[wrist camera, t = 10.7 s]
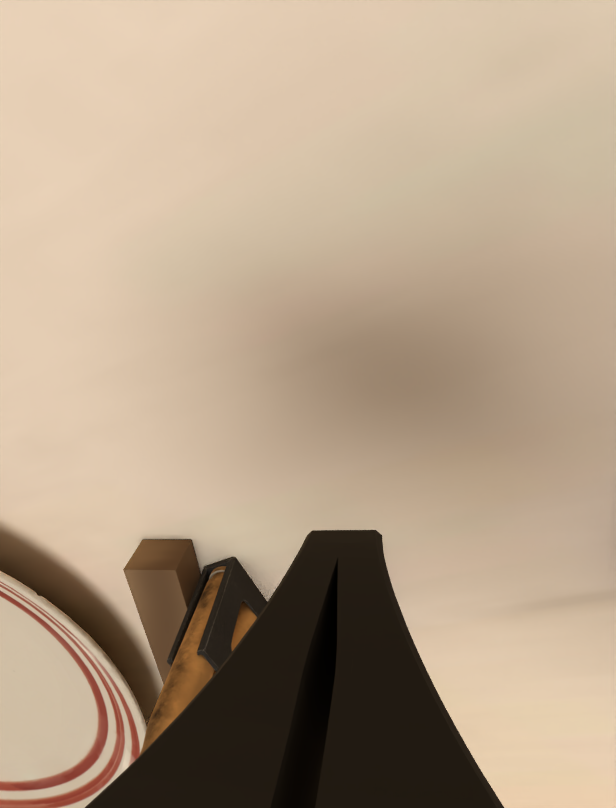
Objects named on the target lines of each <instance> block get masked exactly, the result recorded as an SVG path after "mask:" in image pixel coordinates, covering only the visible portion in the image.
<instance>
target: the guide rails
mask: <svg viewBox="0 0 616 808" xmlns="http://www.w3.org/2000/svg"><path fill="white" fill-rule="evenodd" d="M123 570H124V573H125V576H126V579H127V581H128V584H129V587H130V590H131V593H132V596H133V598H134V601H135V604H136V607H137V610H138V613H139V616H140V618H141V621H142V624H143V627H144V630H145V633H146V635H147V638H148V641H149V644H150V647H151V650H152V653H153V655H154V658H155V661H156V664H157V667H158V670H159V672H160V675H161V678H162V681H163V684H165V681H166V679H167V676H168V674H169V672H170V669H171V666H170V665H169V664H168V663H167V659H168V656H169V654H170V651H171V649H172V646H173V644H174V641H175V639H176V636H177V634H178V631H179V629H180V626H181V624H182V621H183V619H184V616H185V614H186V611H187V609H188V606H189V604H190V601H191V599H192V596H193V594H194V591H195V589H196V586H197V584H198V581H199V579H200V576H201V574H200V570H199V567H198V563H197V559H196V555H195V552H194V548H193V544H192V541H191V540H142V542H141V543H140V545H139V546H138V548H137V549H136V551H135V552H134V554H133V555H132V557H131V559H130V560H129V562H128V563H127V565H126V566H125V568H124V569H123Z"/></svg>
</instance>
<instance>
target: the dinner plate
mask: <svg viewBox="0 0 616 808" xmlns="http://www.w3.org/2000/svg"><path fill="white" fill-rule="evenodd" d="M146 729H147V726H146V723H145V719H144V717H143V714H142V712H141V709H140V707H139V704H138V702H137V700H136V698H135V696H134V694H133V692H132V691H131V689H130V687H129V685H128V683H127V682H126V680H125V679H124V677H123V676H122V674H121V673H120V671H119V670H118V669H117V668H116V666H115V665H114V663H113V662H112V661H111V659H110V658H109V657H108V655H107V654H106V653H105V652H104V651H103V650H102V648H101V647H100V646H99V645H98V644H97V643H96V642H95V641H94V640H93V639H92V638H91V637H90V636H89V635H88V634H87V633H86V632H85V631H84V630H83V629H82V628H81V627H80V626H78V625H77V624H76V623H75V622H74V621H73V620H72V619H71V618H70V617H69V616H67V615H66V614H65V613H64V612H62V611H61V610H60V609H58V608H57V607H56V606H54V605H53V604H52V603H51V602H49V601H48V600H47V599H45V598H44V597H42V596H38V595H37V593H36V592H35V591H33V590H32V589H30V588H29V587H27V586H26V585H24V584H22V583H21V582H19V581H17V580H16V579H14V578H12V577H11V576H9V575H7V574H5V573H3V572H2V571H0V808H85V807H86V806H87V805H88V804H89V803H90V802H91V801H92V800H93V799H94V798H96V797H97V796H98V795H99V794H100V793H101V792H102V791H103V790H104V789H105V788H106V787H107V786H109V785H110V784H111V783H112V782H113V781H114V780H115V779H116V778H117V777H118V776H119V775H121V774H122V773H123V772H124V771H125V770H126V769H127V768H128V767H129V766H130V765H131V764H132V763H133V762H134V761H135V760H136V759H137V758H138V757H139V755H140V752H141V750H142V747H143V743H144V738H145V734H146Z"/></svg>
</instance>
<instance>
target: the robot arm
mask: <svg viewBox="0 0 616 808" xmlns="http://www.w3.org/2000/svg"><path fill="white" fill-rule="evenodd" d="M85 808H504V807H503V805H502V804H501V802H500V800H499V799H498V797H497V796H496V794H495V792H494V791H493V789H492V788H491V786H490V784H489V783H488V781H487V780H486V778H485V777H484V775H483V773H482V772H481V770H480V768H479V767H478V765H477V763H476V762H475V760H474V758H473V756H472V755H471V753H470V751H469V749H468V748H467V746H466V744H465V742H464V741H463V739H462V737H461V736H460V734H459V732H458V730H457V729H456V727H455V725H454V723H453V721H452V719H451V717H450V715H449V714H448V712H447V710H446V708H445V706H444V704H443V702H442V701H441V699H440V697H439V695H438V693H437V691H436V689H435V687H434V685H433V683H432V681H431V679H430V677H429V675H428V673H427V671H426V668H425V666H424V664H423V662H422V660H421V657H420V655H419V653H418V651H417V649H416V647H415V644H414V642H413V640H412V637H411V635H410V633H409V630H408V628H407V625H406V623H405V620H404V618H403V615H402V612H401V610H400V607H399V604H398V602H397V599H396V597H395V594H394V591H393V588H392V585H391V581H390V578H389V574H388V571H387V567H386V563H385V559H384V554H383V544H382V535H381V534H380V533H379V532H377V531H376V530H323V531H312V532H310V533H309V534H308V535H307V537H306V539H305V541H304V543H303V545H302V547H301V548H300V550H299V552H298V554H297V556H296V557H295V559H294V561H293V563H292V564H291V566H290V568H289V569H288V571H287V573H286V574H285V576H284V578H283V579H282V581H281V582H280V584H279V586H278V587H277V589H276V590H275V592H274V593H273V595H272V596H271V598H270V599H269V601H268V602H267V604H266V605H265V607H264V608H263V610H262V611H261V613H260V614H259V616H258V617H257V619H256V620H255V621H254V623H253V624H252V626H251V627H250V628H249V630H248V631H247V632H246V634H245V635H244V636H243V638H242V639H241V640H240V642H239V643H238V644H237V646H236V647H235V648H234V650H233V651H232V652H231V654H230V655H229V656H228V658H227V659H226V660H225V662H224V663H223V664H222V665H221V667H220V668H219V669H218V670H217V671H216V673H215V674H214V675H213V676H212V678H211V679H210V680H209V681H208V682H207V684H206V685H205V686H204V687H203V688H202V689H201V691H200V692H199V693H198V694H197V695H196V696H195V697H194V699H193V700H192V701H191V702H190V703H189V704H188V705H187V707H186V708H185V709H184V710H183V711H182V712H181V713H180V714H179V715H178V716H177V717H176V718H175V720H174V721H173V722H172V723H171V724H170V725H169V726H168V727H167V728H166V729H165V730H164V731H163V732H162V733H161V734H160V735H159V736H158V738H157V739H156V740H155V741H154V742H153V743H152V744H151V745H150V746H149V747H148V748H147V749H146V750H145V751H144V752H143V753H142V754H141V755H140V756H139V757H138V758H137V759H136V760H135V761H134V762H133V763H132V764H131V765H130V766H129V767H128V768H127V769H126V770H125V771H124V772H123V773H122V774H121V775H119V776H118V777H117V778H116V779H115V780H114V781H113V782H112V783H111V784H110V785H109V786H107V787H106V788H105V789H104V790H103V791H102V792H101V793H100V794H99V795H98V796H97V797H96V798H94V799H93V800H92V801H91V802H90V803H89V804H88V805H87V806H86V807H85Z"/></svg>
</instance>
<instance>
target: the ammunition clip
mask: <svg viewBox="0 0 616 808" xmlns="http://www.w3.org/2000/svg"><path fill="white" fill-rule="evenodd" d="M266 604H267V601H266V599H265V598H264V597H263V595H262V594H261V592H260V591H259V590H258V588H257V587H256V585H255V584H254V583H253V581H252V580H251V578H250V577H249V576H248V574H247V573H246V571H245V570H244V569H243V567H242V566H241V564H240V563H239V562H238V560H237V559H236V557H235V558H230V559H227V560H224V561H221V562H218V563H215V564H212V565H209V566H206V567H204V569H203V571H202V574H201V576H200V579H199V581H198V584H197V586H196V589H195V591H194V594H193V596H192V599H191V601H190V604H189V606H188V609H187V611H186V614H185V616H184V619H183V621H182V624H181V626H180V629H179V631H178V634H177V636H176V639H175V641H174V644H173V646H172V649H171V651H170V654H169V656H168V659H167V663H168V664H169V665H170V666H171V669H170V672H169V674H168V676H167V679H166V681H165V684H164V686H163V688H162V691H161V693H160V695H159V698H158V700H157V703H156V705H155V707H154V710H153V712H152V714H151V717H150V719H149V722H148V725H147V729H146V734H145V738H144V743H143V747H142V750H141V752H140V755H141V754H142V753H143V752H144V751H145V750H146V749H147V748H148V747H149V746H150V745H151V744H152V743H153V742H154V741H155V740H156V739H157V738H158V736H159V735H160V734H161V733H162V732H163V731H164V730H165V729H166V728H167V727H168V726H169V725H170V724H171V723H172V722H173V721H174V720H175V718H176V717H177V716H178V715H179V714H180V713H181V712H182V711H183V710H184V709H185V708H186V707H187V705H188V704H189V703H190V702H191V701H192V700H193V699H194V697H195V696H196V695H197V694H198V693H199V692H200V691H201V689H202V688H203V687H204V686H205V685H206V684H207V682H208V681H209V680H210V679H211V678H212V676H213V675H214V674H215V673H216V671H217V670H218V669H219V668H220V667H221V665H222V664H223V663H224V662H225V660H226V659H227V658H228V656H229V655H230V654H231V652H232V651H233V650H234V648H235V647H236V646H237V644H238V643H239V642H240V640H241V639H242V638H243V636H244V635H245V634H246V632H247V631H248V630H249V628H250V627H251V626H252V624H253V623H254V621H255V620H256V619H257V617H258V616H259V614H260V613H261V611H262V610H263V608H264V607H265V605H266ZM140 755H139V756H140Z"/></svg>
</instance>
